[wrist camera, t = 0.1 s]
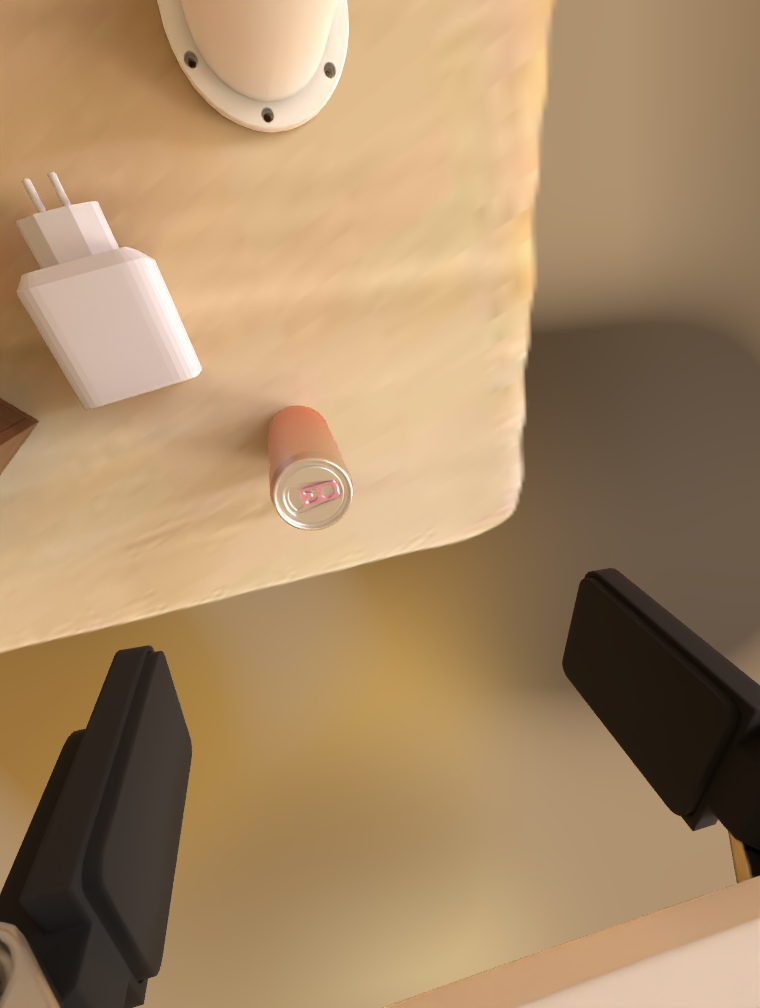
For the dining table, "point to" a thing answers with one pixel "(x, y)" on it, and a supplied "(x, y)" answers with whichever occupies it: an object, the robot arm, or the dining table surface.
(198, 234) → the dining table surface
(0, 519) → the dining table surface
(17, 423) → the box
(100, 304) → the charger
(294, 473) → the beverage can
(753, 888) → the robot arm
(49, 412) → the dining table surface
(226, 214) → the dining table surface
